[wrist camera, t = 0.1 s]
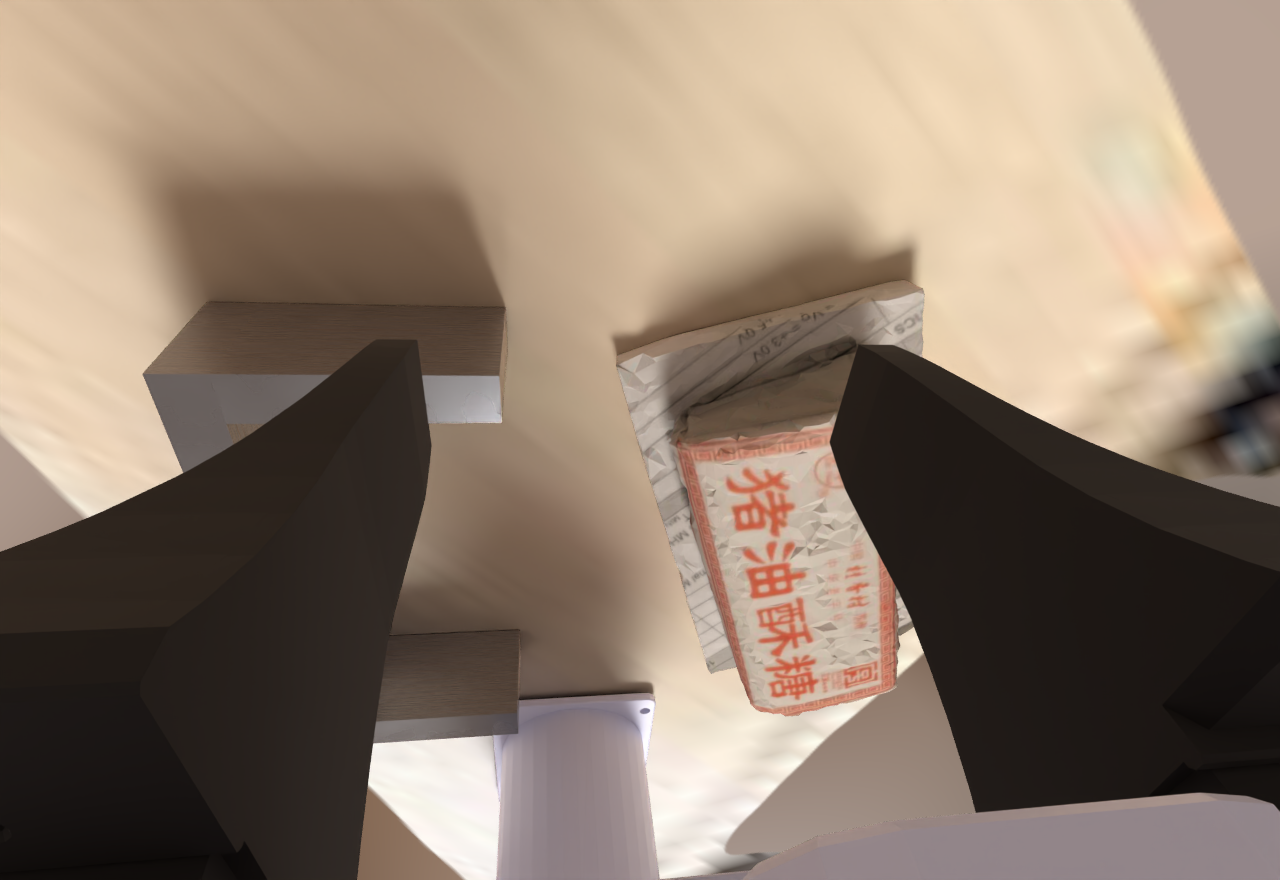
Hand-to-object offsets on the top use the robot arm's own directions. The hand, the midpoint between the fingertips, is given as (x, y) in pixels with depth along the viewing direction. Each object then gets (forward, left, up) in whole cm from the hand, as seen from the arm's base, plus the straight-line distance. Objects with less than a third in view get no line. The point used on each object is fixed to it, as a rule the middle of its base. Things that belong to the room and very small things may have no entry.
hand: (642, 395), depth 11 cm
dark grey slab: (-12, +6, -10) cm, 17 cm away
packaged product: (-12, -8, -11) cm, 18 cm away
